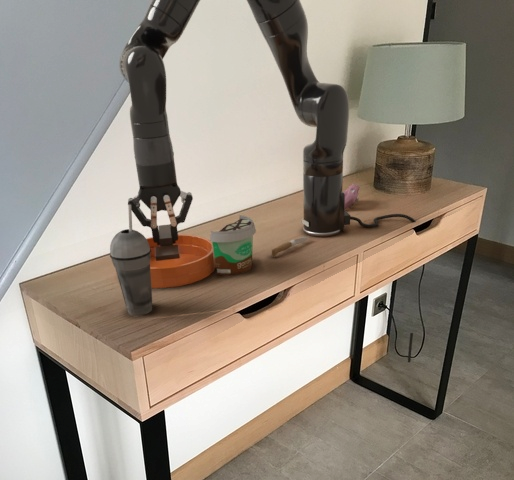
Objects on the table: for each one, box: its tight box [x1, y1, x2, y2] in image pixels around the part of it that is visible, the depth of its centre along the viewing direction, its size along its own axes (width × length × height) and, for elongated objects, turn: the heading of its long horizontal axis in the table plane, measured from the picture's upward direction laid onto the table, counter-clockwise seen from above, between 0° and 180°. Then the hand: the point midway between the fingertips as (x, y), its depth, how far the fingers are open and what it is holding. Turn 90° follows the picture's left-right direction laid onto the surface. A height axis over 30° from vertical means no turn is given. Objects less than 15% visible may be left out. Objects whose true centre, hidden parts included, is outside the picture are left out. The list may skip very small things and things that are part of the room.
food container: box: [209, 214, 257, 277], centre depth 120 cm, size 12×6×10 cm, turn 151°
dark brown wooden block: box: [155, 223, 180, 261], centre depth 121 cm, size 5×15×3 cm, turn 9°
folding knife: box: [271, 235, 310, 258], centre depth 132 cm, size 14×2×2 cm, turn 138°
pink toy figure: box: [343, 183, 360, 210], centre depth 158 cm, size 10×5×7 cm, turn 168°
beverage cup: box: [109, 204, 153, 316], centre depth 103 cm, size 7×7×20 cm
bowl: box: [146, 234, 216, 289], centre depth 124 cm, size 20×20×4 cm
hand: (166, 242), depth 122 cm, fingers closed on dark brown wooden block, 2 cm apart
